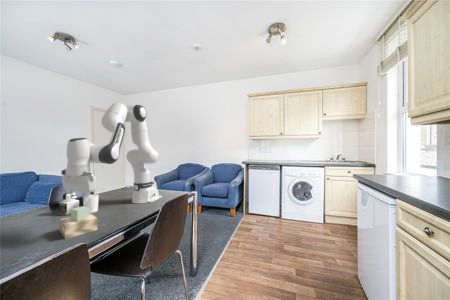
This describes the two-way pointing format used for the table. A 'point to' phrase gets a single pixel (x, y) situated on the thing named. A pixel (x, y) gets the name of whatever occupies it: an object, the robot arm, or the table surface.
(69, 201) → the medicine bottle
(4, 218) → the table surface
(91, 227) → the beech block
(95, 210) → the white cup
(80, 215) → the sage cube
